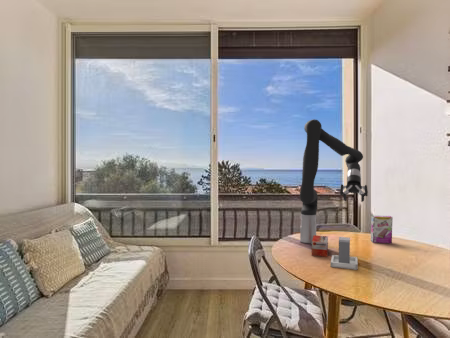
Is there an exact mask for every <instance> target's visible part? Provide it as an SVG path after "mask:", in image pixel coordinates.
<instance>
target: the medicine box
mask: <svg viewBox="0 0 450 338" xmlns="http://www.w3.org/2000/svg"><path fill="white" fill-rule="evenodd" d="M328 247H329V236H328V235H317V234H316V235H314V236H313V239H312V243H311V256H314V257H322V258H323V257H326V258H327V257H328V252H329V249H328Z"/></svg>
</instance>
